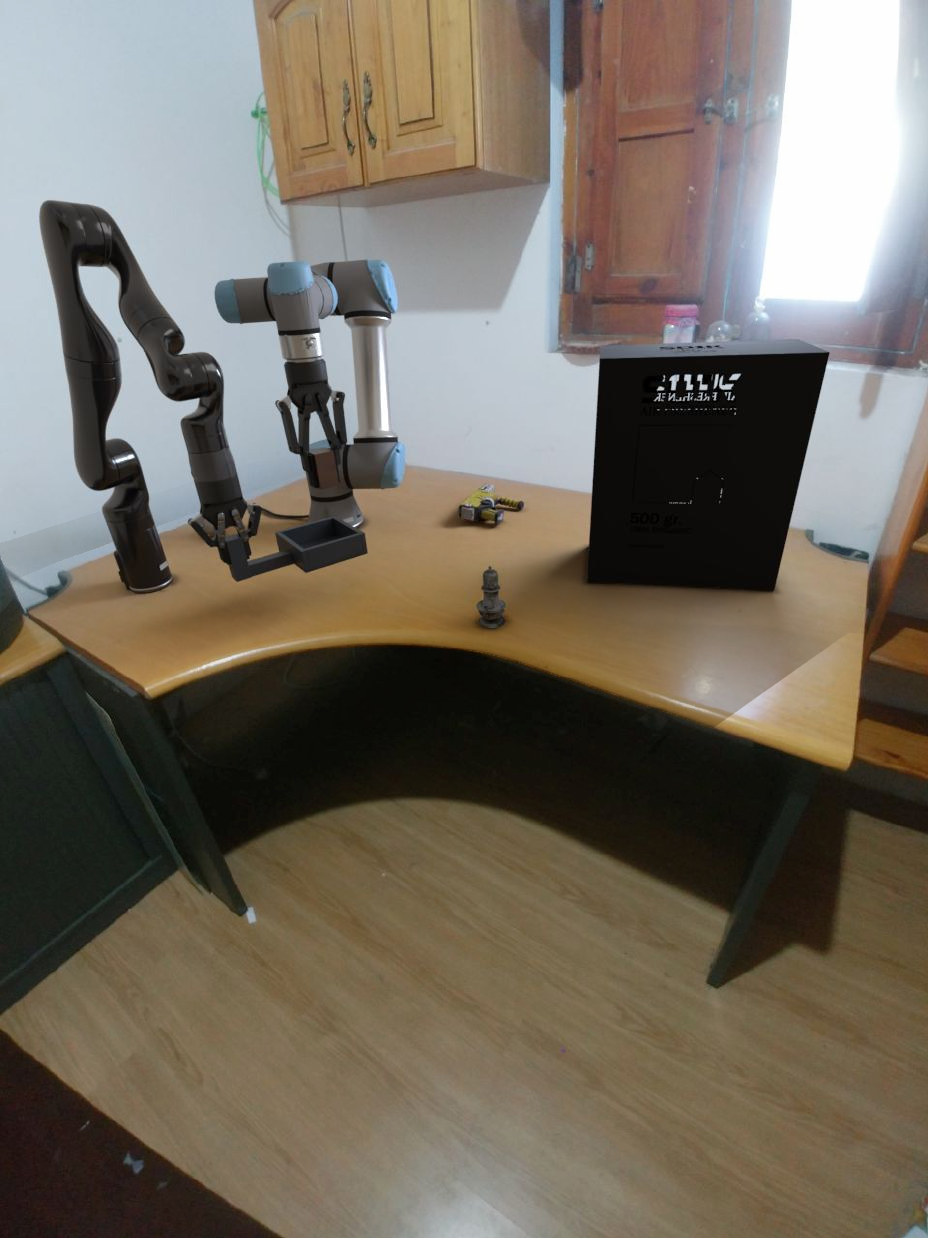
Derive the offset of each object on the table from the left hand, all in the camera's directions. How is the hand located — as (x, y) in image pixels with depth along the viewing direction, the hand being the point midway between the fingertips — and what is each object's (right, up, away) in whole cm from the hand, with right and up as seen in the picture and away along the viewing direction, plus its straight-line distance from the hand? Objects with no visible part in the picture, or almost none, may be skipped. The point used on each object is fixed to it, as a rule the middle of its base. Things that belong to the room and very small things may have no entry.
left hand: (237, 560), depth 117 cm
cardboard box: (+91, 0, +18) cm, 93 cm away
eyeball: (-25, +12, +50) cm, 57 cm away
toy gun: (+53, +19, +55) cm, 79 cm away
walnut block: (+16, +16, +5) cm, 23 cm away
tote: (+9, +1, +7) cm, 12 cm away
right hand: (+16, +16, +5) cm, 23 cm away
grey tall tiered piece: (+50, -12, +1) cm, 51 cm away
